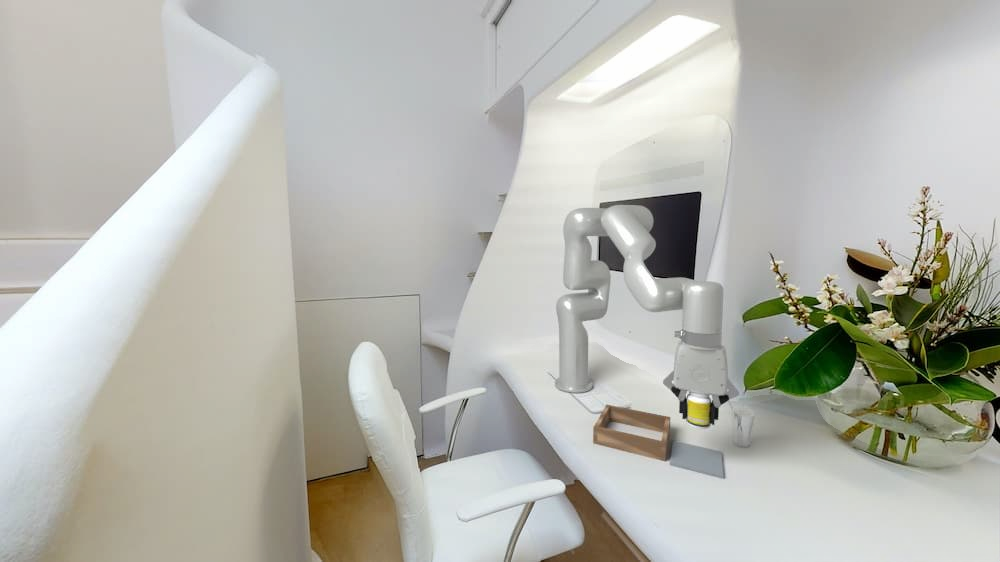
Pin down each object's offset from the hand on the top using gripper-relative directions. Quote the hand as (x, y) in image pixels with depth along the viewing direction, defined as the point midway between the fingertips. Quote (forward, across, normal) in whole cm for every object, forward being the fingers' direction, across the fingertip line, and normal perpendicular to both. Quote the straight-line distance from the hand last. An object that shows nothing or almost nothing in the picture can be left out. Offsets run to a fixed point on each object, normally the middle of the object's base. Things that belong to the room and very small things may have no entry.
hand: (698, 418), depth 80 cm
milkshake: (+10, +9, +12) cm, 18 cm away
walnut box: (+9, -14, +3) cm, 17 cm away
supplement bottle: (+2, 0, 0) cm, 2 cm away
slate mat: (+10, 0, 0) cm, 10 cm away
